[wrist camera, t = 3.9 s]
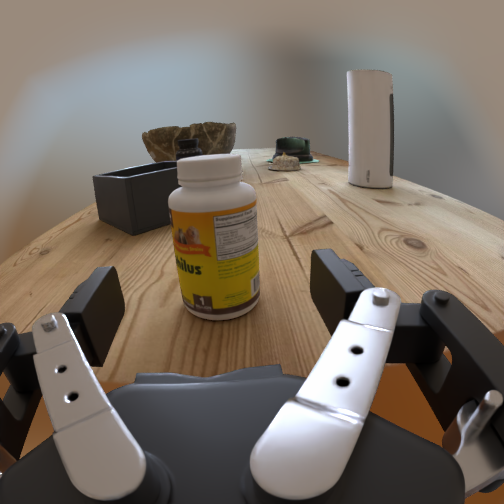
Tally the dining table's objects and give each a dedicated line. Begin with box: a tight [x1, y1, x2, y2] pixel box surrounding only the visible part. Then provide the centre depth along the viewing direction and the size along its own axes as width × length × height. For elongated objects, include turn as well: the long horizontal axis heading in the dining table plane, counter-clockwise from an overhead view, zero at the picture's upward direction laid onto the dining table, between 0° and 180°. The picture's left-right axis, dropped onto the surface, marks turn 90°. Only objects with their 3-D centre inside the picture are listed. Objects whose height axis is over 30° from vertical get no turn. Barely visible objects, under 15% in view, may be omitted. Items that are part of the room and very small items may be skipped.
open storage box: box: [93, 161, 182, 236], centre depth 45 cm, size 15×15×8 cm
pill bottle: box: [176, 138, 203, 161], centre depth 66 cm, size 6×6×11 cm
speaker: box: [347, 69, 394, 189], centre depth 59 cm, size 11×10×26 cm
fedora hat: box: [267, 137, 319, 163], centre depth 111 cm, size 15×19×20 cm
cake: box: [268, 152, 301, 171], centre depth 88 cm, size 10×10×5 cm
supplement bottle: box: [168, 154, 260, 320], centre depth 20 cm, size 6×6×10 cm
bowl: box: [142, 122, 236, 163], centre depth 84 cm, size 28×27×15 cm
